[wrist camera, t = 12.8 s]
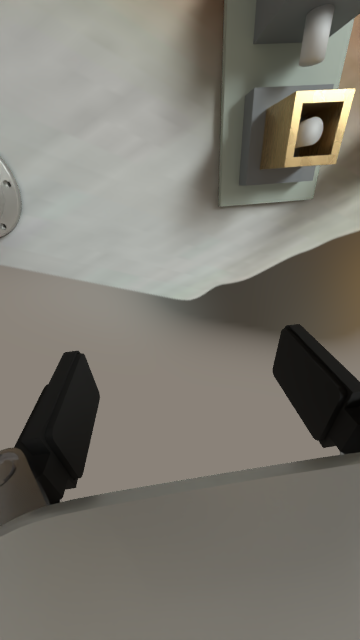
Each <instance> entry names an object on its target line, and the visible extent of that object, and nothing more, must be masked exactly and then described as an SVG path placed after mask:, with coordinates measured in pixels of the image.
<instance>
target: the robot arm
mask: <svg viewBox="0 0 360 640" xmlns="http://www.w3.org/2000/svg"><path fill="white" fill-rule="evenodd" d="M9 182H10V183H11V186H10V185H9ZM21 209H22V201H21V195H20V190H19V188H18V185H17V182H16V180H15V178H14V176H13V174H12V172H11V170H10V169H9V167H8V166H7V164H6V163H5V162H4V160H3V159H2V158H1V157H0V237H2V236H4V235H6V234H7V233H9V232H11V231H12V230H13V228H14V227H15V226H16V225H17V223H18V221H19V219H20V215H21ZM5 225H6V227H5ZM273 374H274V377H275V378H276V380H277V381H278V383H279V384H280V386H281V388H282V389H283V391H284V392H285V394H286V396H287V397H288V398H289V400H290V402H291V403H292V405H293V407H294V408H295V409H296V411H297V413H298V414H299V416H300V418H301V419H302V420H303V422H304V424H305V425H306V427H307V429H308V430H309V432H310V433H311V435H312V436H313V438H314V439H315V440H319V442H320V444H321V445H322V447H323V448H326V447H332V446H337V447H338V449H339V450H340V455H338V456H330V457H323V458H317V459H310V460H304V461H297V462H291V463H285V464H278V465H272V466H266V467H260V468H254V469H247V470H241V471H235V472H229V473H223V474H217V475H211V476H205V477H198V478H193V479H186V480H181V481H174V482H169V483H163V484H157V485H151V486H145V487H139V488H134V489H127V490H122V491H116V492H110V493H105V494H100V495H94V496H89V497H84V498H78V499H73V500H70V501H65V502H62V500H61V498H62V497H63V495H64V491H65V489H71V488H76V484H77V480H78V478H81V477H82V475H83V471H84V467H85V462H86V457H87V453H88V449H89V444H90V439H91V435H92V431H93V426H94V422H95V418H96V413H97V408H98V404H99V399H100V395H99V391H98V388H97V386H96V383H95V381H94V378H93V375H92V373H91V370H90V368H89V365H88V363H87V360H86V358H85V355H84V354H81V353H80V352H79V351H72V352H65V353H64V354H63V356H62V358H61V360H60V362H59V364H58V366H57V368H56V370H55V372H54V374H53V376H52V378H51V380H50V382H49V384H48V385H46V386H45V388H44V389H43V391H42V393H41V395H40V397H39V399H38V401H37V403H36V405H35V407H34V409H33V411H32V413H31V415H30V417H29V419H28V421H27V423H26V425H25V427H24V429H23V431H22V433H21V435H20V437H19V439H18V441H17V443H16V445H15V447H14V448H7V449H4V450H1V451H0V640H360V382H359V381H358V380H357V379H356V378H355V377H354V376H353V375H352V374H351V373H350V372H349V371H348V370H347V369H346V368H345V367H344V366H343V365H342V364H341V363H340V362H339V361H337V360H336V359H335V358H334V357H333V356H332V355H331V354H330V353H329V352H328V351H327V350H326V349H325V348H324V347H323V346H322V345H321V344H320V343H318V341H317V340H315V338H314V337H313V336H311V335H310V334H309V333H308V332H307V331H306V330H305V329H304V328H303V327H302V326H301V325H300V324H296V325H287V326H286V327H285V328H284V329H283V330H282V331H281V335H280V339H279V344H278V348H277V352H276V357H275V361H274V365H273Z"/></svg>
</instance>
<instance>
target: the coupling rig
mask: <svg viewBox="0 0 360 640" xmlns="http://www.w3.org/2000/svg"><path fill="white" fill-rule="evenodd" d="M358 14H360V0H224V26H223V61H222V95H221V130H220V164H219V198H218V206H220V207H223V206H235V205H248V204H260V203H272V202H284V201H296V200H309V199H313V195H314V191H315V187H316V182H317V178H318V174H319V169H320V165H317V166H304V167H290V168H275V169H260V162H261V154H262V145H263V136H264V127H265V118H266V109H267V108H269V107H271V106H273V105H274V104H276V103H278V102H279V101H281V100H283V99H284V98H286V97H288V96H289V95H291V94H293V93H294V92H296V91H313V90H336V89H338V87H339V83H340V78H341V74H342V70H343V65H344V61H345V57H346V52H347V48H348V44H349V39H350V35H351V31H352V26H353V22H354V18H355V17H356V16H357V15H358ZM305 118H306V117H300V122H299V128H298V134H297V139H296V145H295V151H294V156H293V157H298V155H299V150H300V147H304V146H309V145H313V144H315V143H316V142H317V141H318V140H319V139H320V137H321V135H322V132H323V122H322V120H321V119H320V118H319V117H312V118H310V119H307V120H305Z"/></svg>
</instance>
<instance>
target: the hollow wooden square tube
mask: <svg viewBox="0 0 360 640" xmlns="http://www.w3.org/2000/svg"><path fill="white" fill-rule="evenodd" d="M354 92H355V89H336V90H313V91H296V92H294V93H293V94H291V95H289V96H288V97H286V98H284V99H283V100H281V101H279V102H278V103H276V104H274V105H273V106H271V107H269V108H267V109H266V118H265V127H264V136H263V145H262V154H261V162H260V169H275V168H290V167H304V166H317V165H329V164H336V161H337V157H338V153H339V149H340V146H341V142H342V138H343V134H344V130H345V127H346V123H347V119H348V115H349V111H350V108H351V104H352V100H353V96H354ZM300 117H306V118H305V120H307V119H310V118H312V117H319V118H320V119H321V120H322V122H323V132H322V135H321V137H320V139H319V140H318V141H317V142H316V143H315V144H313V145H309V146H304V147H300V150H299V155H298V157H293V156H294V151H295V145H296V139H297V134H298V128H299V122H300Z"/></svg>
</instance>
